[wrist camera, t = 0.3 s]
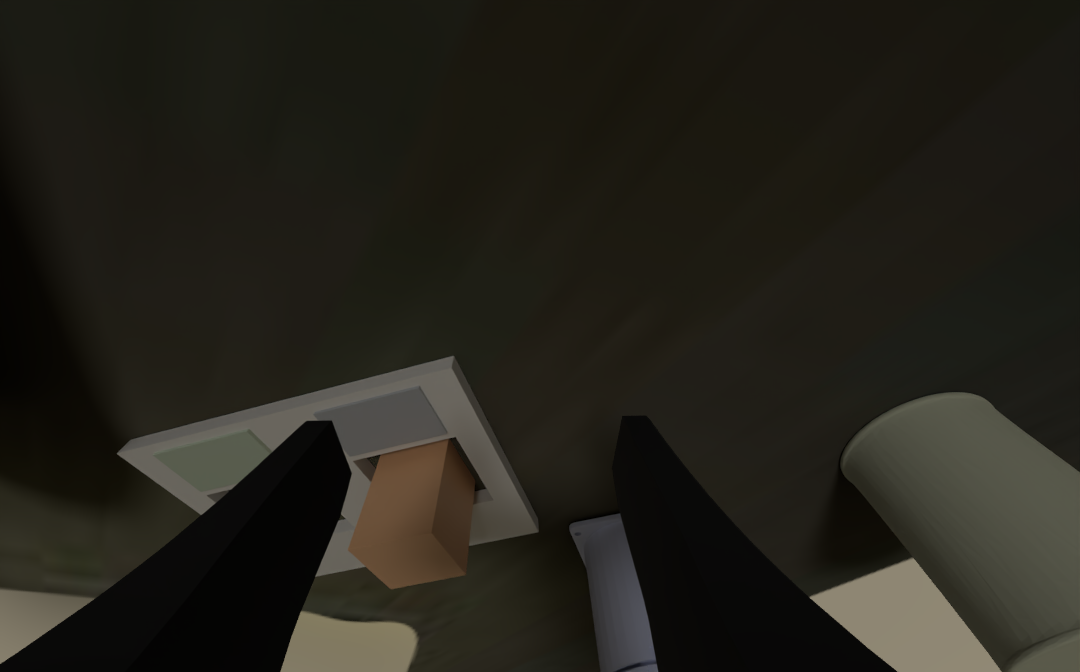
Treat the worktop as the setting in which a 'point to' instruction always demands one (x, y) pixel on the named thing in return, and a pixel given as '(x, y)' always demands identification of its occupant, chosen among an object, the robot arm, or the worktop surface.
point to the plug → (416, 516)
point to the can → (981, 521)
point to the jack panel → (346, 448)
